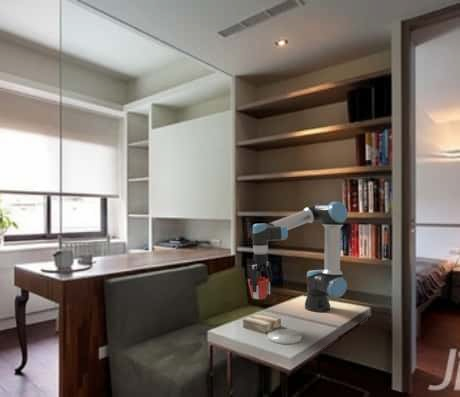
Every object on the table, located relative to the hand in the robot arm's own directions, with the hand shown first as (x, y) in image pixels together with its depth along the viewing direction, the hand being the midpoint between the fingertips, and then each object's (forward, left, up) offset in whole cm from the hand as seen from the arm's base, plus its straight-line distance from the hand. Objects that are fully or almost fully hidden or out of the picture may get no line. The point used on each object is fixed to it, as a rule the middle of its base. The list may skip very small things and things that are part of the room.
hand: (262, 295), depth 178 cm
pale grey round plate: (+5, +17, -16) cm, 24 cm away
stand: (0, 0, -16) cm, 16 cm away
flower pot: (0, -2, -1) cm, 3 cm away
